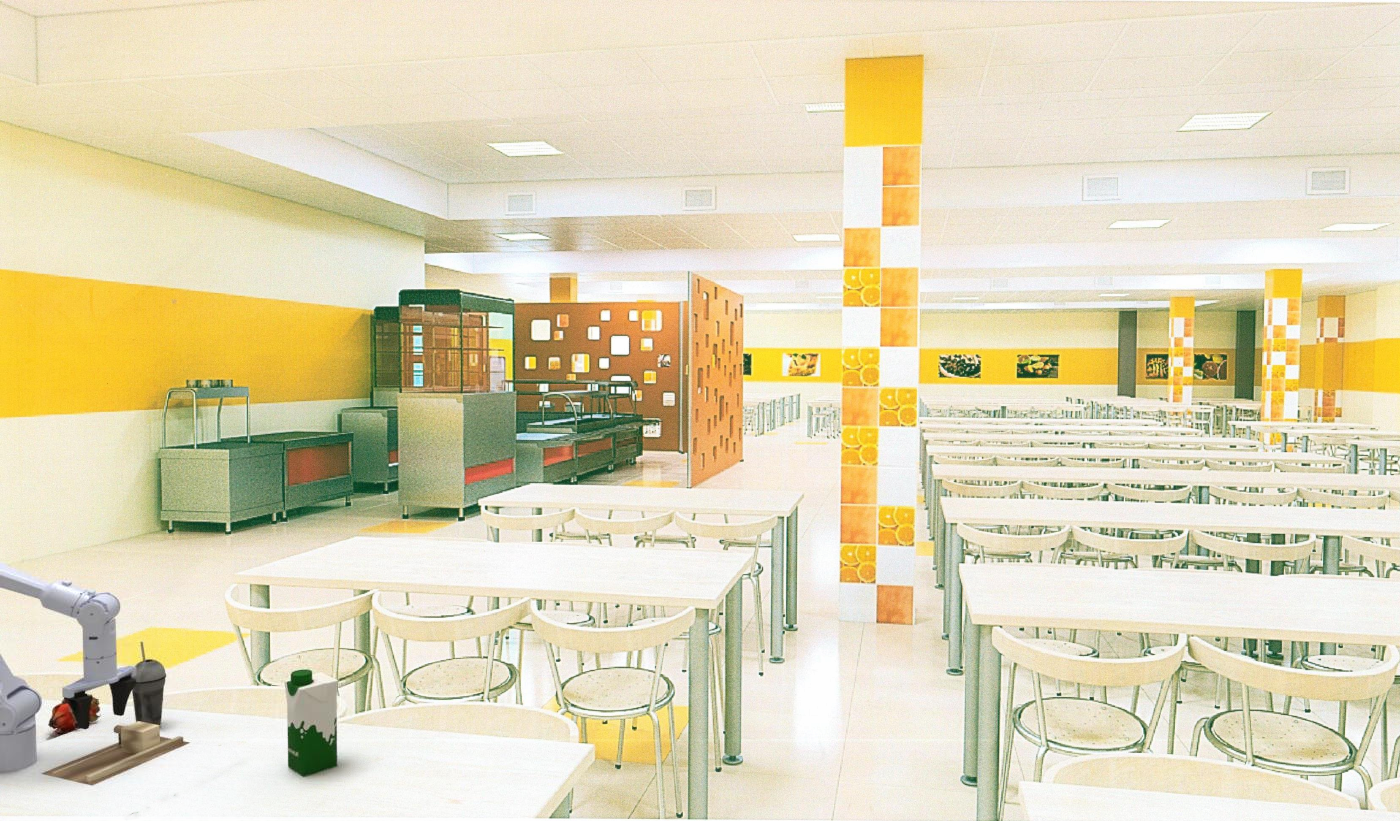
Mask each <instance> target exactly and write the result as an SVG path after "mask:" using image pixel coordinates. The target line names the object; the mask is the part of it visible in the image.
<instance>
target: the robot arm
mask: <svg viewBox="0 0 1400 821" xmlns="http://www.w3.org/2000/svg"><path fill="white" fill-rule="evenodd" d="M72 583H73V581H72V580H69V579H64V580H55V581H53V582H48V581H45V580H42V579H41V578H38V577H36V576H33V575H30V574H28V573H26V572H23V571H21V570H19V569H16V568H13V567H11V566H9V565H7V564H5V563H3V562H2V561H1V560H0V588H1V589H4V590H8V591H11V592H14V593H18V594H21V595H24V596H28V597H31V598H35V599H38V600H39V601H40V604H41V605H42V608H44V609H47V610H51V611H53V612H55V613H59V614H60V615H61V614H62V615H63V616H67V617H70V618H73V619H76V621H77V623H78V624H79V626H81V628H82V662H83V664H82V665H83V666H82V668H83V677H82V678H79V679H78V680H76V681H74V682H72V683H70V684H68V685H65V686H62V687H61V689H62V692H61V693H62V698H63V699H64V700H65V701H66V702H67V704H68V705H69V706H70V708H71V710H72V711H73V713H74V716H75V718H76V721H77V724H78V728H81V730H88V729H89V728H90V723H91V722H90V707H91V702H92V699H93V697H94V696H93V695H92V696H88V695H87V694H88V693H86V692H88V691H91V690H95V689H97V688H100V687H103V686H106V685H109V689H110V693H111V698H112V712H113V715H114V716H118V717H122V716H124V714H125V711H126V708H127V705H128V701H129V699H130V698H129V697H130V695H131V694H132V689H133V688H134V686H135V684H136V679H134V678H131V677H134V676H136V667H135V665H127V666H123V667H118V664H117V662H118V661H117V657H118V656H117V652H118V650H117V630H116V629H117V625H116V624H117V623H116V621H117V619H116V617H117V616H118V615H119V613H120V611H121V602H120V600H119V599H118V597H117V596H115V595H114V594H111V593H110V592H108V591H103V592H102V591H101V592H99V593H97V592H96V590H94V589H89V590H88V589H85V588H82V587H79V586H77V585H73V584H72ZM42 705H43V701H42V696H41V695H40V693H39V691H37V690H36V689H34V688H33V687H31V686H30V685H29V684H28V683H27V681H26V680H25V679H23V678H21V677H18V676H16V675H14V674H13V672H12V671H11V669H10V668H9V666H8V664H7V663H6V661H5V659H4V657H3V655H2V654H1V653H0V773H10V772H15V771H16V772H17V771H21V770H24V769H27V768H29V767H31V766H33V765H35V764H36V763H37V761H38V756H37V754H38V752H37V723H36V722H37V721H36V714H37V713H38V712H39V711H40V710H41V707H42Z"/></svg>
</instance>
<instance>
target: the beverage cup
mask: <svg viewBox="0 0 1400 821" xmlns="http://www.w3.org/2000/svg"><path fill="white" fill-rule="evenodd" d="M139 643H140V649H141V657H142V660H141V661H139V662H138V663H136V665H134V666H135V667H136V676H134V677H131V678H134V679H136V684H135V686H134V688H133V689H132V691H131V694H132V700H133V709H134V717H135V722H138V721H140V722H145V723H150V724H155V725H160V726H161V724H162V715H163V702H164V691H165V690H164V686H165V684H166V678H167V674H166V669H165V667H164V665H163V664H162V663H161V662H160V661H158V660H156V659H153V658H152V659H149V658H147V659H146V652H145V647H144V642H143V641H140V642H139Z"/></svg>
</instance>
